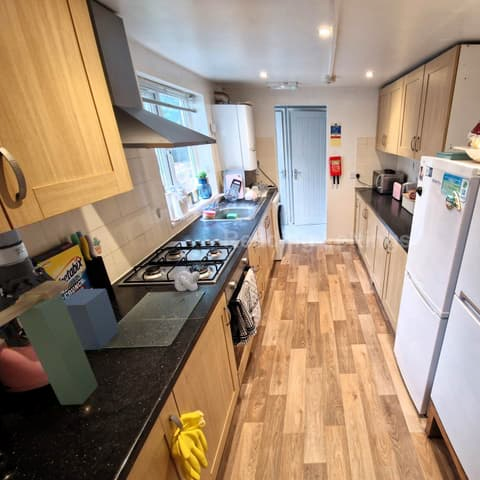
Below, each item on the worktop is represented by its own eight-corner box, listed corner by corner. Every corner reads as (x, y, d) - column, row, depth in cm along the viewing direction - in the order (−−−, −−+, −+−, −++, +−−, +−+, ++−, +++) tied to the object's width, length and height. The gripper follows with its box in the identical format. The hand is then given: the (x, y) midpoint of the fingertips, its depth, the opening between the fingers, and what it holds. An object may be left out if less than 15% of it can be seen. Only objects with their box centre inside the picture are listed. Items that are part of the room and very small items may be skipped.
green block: (62, 407, 75) (12, 307, 62) (78, 388, 80) (36, 293, 68) (84, 406, 75) (39, 307, 63) (99, 387, 81) (60, 293, 68)
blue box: (75, 352, 94) (55, 305, 86) (96, 333, 103) (80, 289, 96) (102, 351, 94) (84, 304, 87) (120, 332, 104) (105, 288, 96)
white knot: (192, 280, 141) (189, 265, 138) (208, 286, 136) (205, 270, 133) (172, 290, 132) (169, 274, 129) (188, 297, 127) (185, 280, 124)
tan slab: (49, 287, 71) (47, 280, 70) (69, 286, 71) (66, 280, 71) (-29, 333, 54) (-34, 325, 54) (-3, 332, 55) (-8, 325, 54)
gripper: (-30, 286, 56) (10, 362, 64) (62, 242, 79) (83, 302, 87) (-71, 287, 55) (-26, 364, 63) (35, 243, 78) (58, 303, 86)
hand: (38, 328), depth 75 cm, fingers open, 13 cm apart
